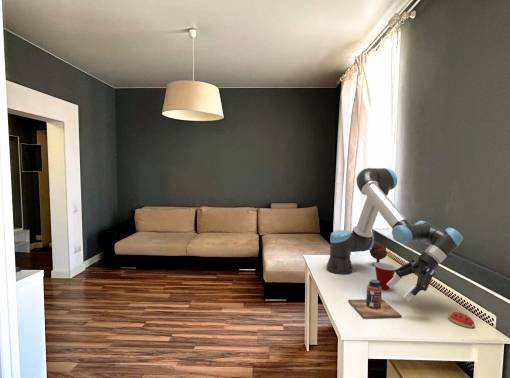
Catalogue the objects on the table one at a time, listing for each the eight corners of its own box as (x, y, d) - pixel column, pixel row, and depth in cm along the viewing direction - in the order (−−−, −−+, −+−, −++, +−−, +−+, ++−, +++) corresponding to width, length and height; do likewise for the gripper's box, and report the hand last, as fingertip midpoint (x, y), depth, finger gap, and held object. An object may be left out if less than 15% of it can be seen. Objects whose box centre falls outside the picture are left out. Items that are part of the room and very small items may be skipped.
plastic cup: (398, 293, 150) (399, 269, 149) (375, 291, 152) (376, 267, 151) (393, 285, 160) (394, 262, 160) (371, 283, 162) (372, 261, 162)
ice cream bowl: (385, 269, 187) (386, 245, 186) (366, 266, 192) (367, 242, 192) (388, 264, 196) (389, 241, 195) (370, 261, 201) (371, 239, 201)
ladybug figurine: (454, 316, 127) (454, 307, 127) (479, 327, 118) (480, 318, 118) (443, 319, 124) (444, 310, 124) (469, 330, 115) (469, 321, 115)
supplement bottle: (374, 310, 128) (375, 284, 127) (363, 305, 133) (364, 279, 132) (384, 308, 131) (385, 282, 130) (373, 302, 136) (373, 277, 135)
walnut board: (348, 301, 139) (348, 299, 139) (382, 301, 140) (382, 298, 140) (363, 318, 123) (363, 316, 123) (401, 317, 124) (401, 315, 124)
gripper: (458, 273, 120) (420, 311, 120) (419, 255, 145) (387, 287, 145) (446, 260, 120) (407, 298, 119) (409, 244, 144) (377, 276, 144)
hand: (396, 292), depth 132 cm, fingers open, 13 cm apart
